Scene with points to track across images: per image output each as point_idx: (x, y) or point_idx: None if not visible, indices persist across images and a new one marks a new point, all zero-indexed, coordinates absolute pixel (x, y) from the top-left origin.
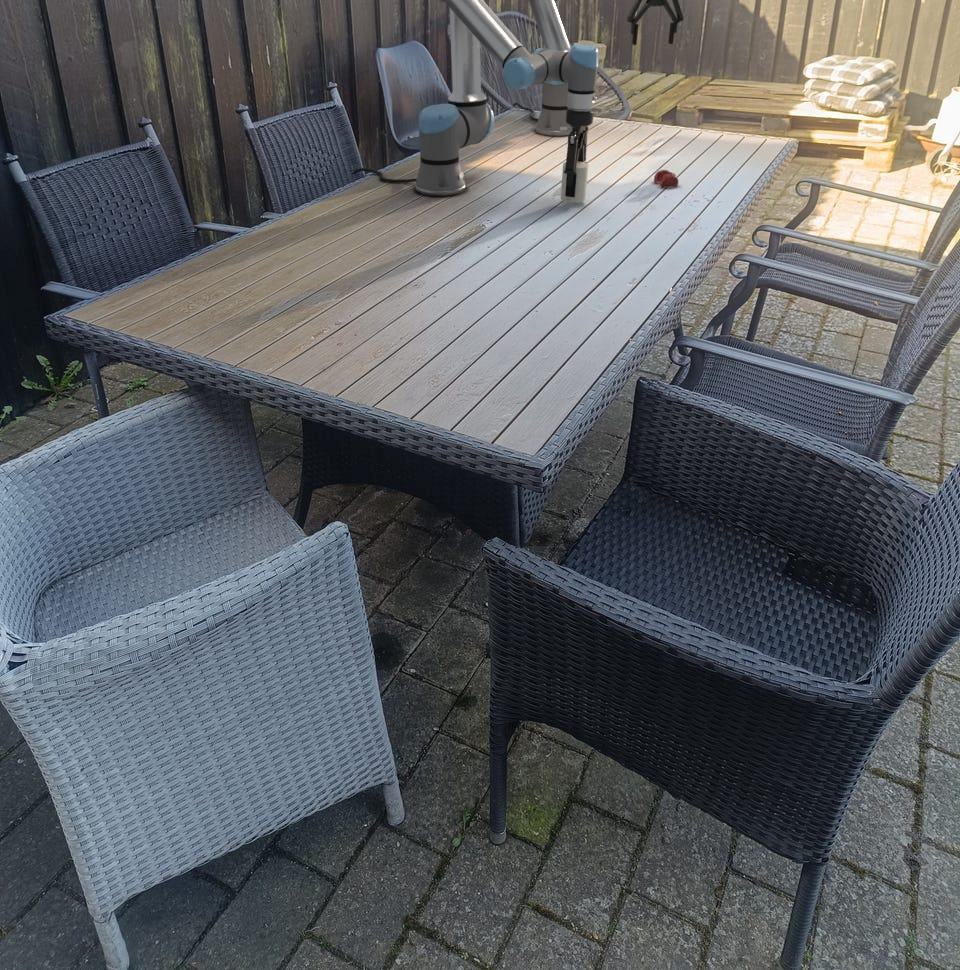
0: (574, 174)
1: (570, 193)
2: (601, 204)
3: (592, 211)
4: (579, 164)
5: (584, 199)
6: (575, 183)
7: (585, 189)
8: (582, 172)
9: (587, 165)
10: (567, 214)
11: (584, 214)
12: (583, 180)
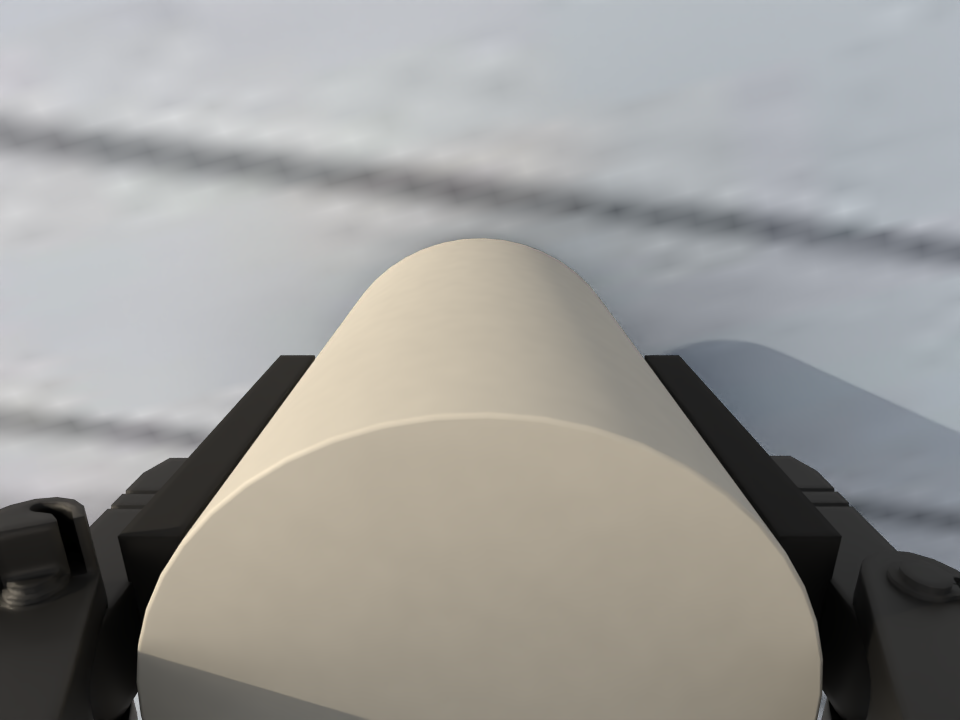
0: (905, 562)
1: None
2: (383, 30)
3: (691, 76)
4: (424, 652)
5: (508, 243)
6: (745, 437)
7: (508, 267)
8: (699, 441)
9: (426, 444)
10: (850, 323)
11: (823, 145)
12: (610, 343)
